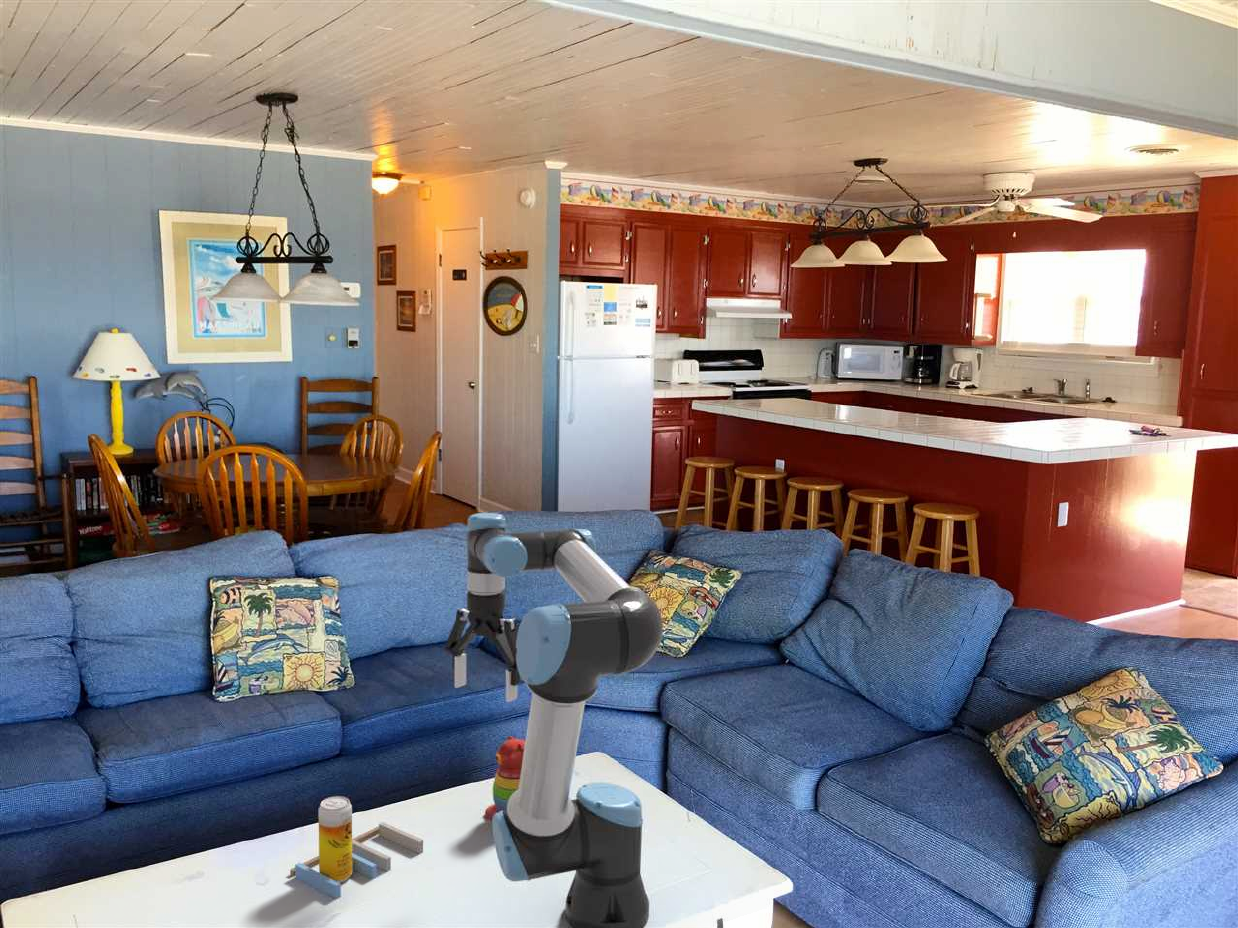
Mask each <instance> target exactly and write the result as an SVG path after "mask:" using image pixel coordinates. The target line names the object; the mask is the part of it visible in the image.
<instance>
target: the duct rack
mask: <svg viewBox="0 0 1238 928" xmlns="http://www.w3.org/2000/svg"><path fill="white" fill-rule="evenodd" d="M377 835H378V836H380V837H382V838H384V839H386V840H388V841H391V842H393V843H395V844H398V845H399V846H402V847H404V848H406V849H408V850H410V851H413V852H414V853H417V854H419V855H420V854H421V853H423V852H424V839H422V838H420V837H417V836H415V835H412V834H411V833H409V832H406V831H405V830H404V831H403V830H401V829H399V828H397V827H394V826H392V825H390V824H388V823H386V822H384V821H382V822H380V823H378V826H376V827H375V828H372V829H370V830H368V831H366V832H365V833H362V834H360V835H357V836H356V837H354V838H352V866H353V871H355V872H357V873H359V874H361V875H362V876H363V875H364V876H365V877H367V878H369V879H371V880H374V879H376V878H377V873H378V871H377V868H379V869H381V870H383V871H385V872H389V871H391V870H392V865H391V864H392V862H391V859H392V858H391V856H389V855H387V854H384V853H383V852H381V851H378V850H376V849H374V848H372V847H369V846H368V845H366V844H363V842H365V841H367V840H369V839H371V838H373V837H375V836H377ZM317 865H319V855H318V856H315V857H314V858H311V859H310V860H306V861H305V862H304V863H301V862H298V863H296V864H295V865H294V867H292V868H291V869H290V875H291V876H292V877H295V878H296V879H298V880H300V881H301V882H304V883H306V884H307V885H308V886H309V885H310V886H311V887H313V888H315V889H317V890H319V891H321V892H322V893H324V894H326V895H329V896H330V897H332V898H334V899H335V900H337V899H339V898H341V896H342V893H341V891H342V888H341V886H342V883H338V882H336V881H334V880H332V879H330V878H328V877H326V876H325V875H323V874H321V873H319V871H317V870H315V869H313V868H314V867H315V866H317Z"/></svg>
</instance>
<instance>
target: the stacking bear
mask: <svg viewBox="0 0 1238 928" xmlns="http://www.w3.org/2000/svg"><path fill="white" fill-rule="evenodd" d="M524 748H525V741H524V740H523V739H519V738H515V737H514V736H511V735H510V736H508V737H507V740H506V741H504V742H503V743H501V745H500V746H499V748H498V750H497V751H496V753H495V760H496V763H497V764H498V765H499V766H498V767H497V769H496V772H495V775H494V781H493V784H492V785H493V786H492V798H493V802H494V803H493V804H492V805H489V806H488V807H486V809H485V811H484V815H485V818H487V819H490V820H491V821H492V819H493V816H494V814H495V813H498V812H500V811H503V812H504V811H506V810H507V803H508V800H509V798H510V796H511V795H512V794H513V793H514V792H515V791H516V790H518V789H519V782H520V775H521V768H522V761H523V755H524Z"/></svg>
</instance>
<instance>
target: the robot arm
mask: <svg viewBox="0 0 1238 928" xmlns="http://www.w3.org/2000/svg"><path fill="white" fill-rule="evenodd" d="M506 530H507V527H506V518H505V516H504V515H503V514H501V513H495V512H480V513H479V512H478V513H474V514H471V515H470V516H469V517H468V519H467V528H466V535H467V537H466V540H467V542H466V545H467V546H466V547H467V548H466V551H467V552H466V555H467V557H466V559H467V561H466V562H467V565H466V566H467V568H466V569H467V572H466V589H467V590H468V591H467V593H466V607H464V608H460V609H458V610H457V611H456V613H455V620H454V623H453V626H452V628H451V630H450V633H449V635H448V637H447V640H446V642H445V645H444V648H443V649H444V650H445V651H446V652H449V653H450V654H451V656H452V670H453V671H454V688H455V689H459V688H461V687H464V686H466V685H467V653H466V651H465V650H466V649H467V647H468V646H469V645H470V644H471V642H472V641H473V640H474V638H475V637H476V636H478V637H484V638H487V639H490V640H491V641H492V643H494V644H495V645H496V648H497V649H498V651H499V653H500V654H501V656H502V658H503V660H504V661H505V663H506V665H507V666H508V668H507V669H505V702H506V703H510V702H513V701H515V700H517V699H518V685H520V683H521V680H522V681H523V682H524V683H525V684H526V687H527V688H528V690H529V692H530V693H532V694H531V700H530V701H531V702H530V709H529V713H528V714H529V715H528V722H527V728H526V729H527V730H526V734H525V741H524V742H525V748H524V755H523V761H522V768H521V775H520V782H519V789H518V790H516V791H515V792H514V793H513V794H512V795H511V796H510V798H509V800H508V803H507V810H506V811H504V812H503V811H500V812H498V813H495V814H494V816H493V819H492V820H491V821H492V823H491V824H492V837H493V842H494V848H495V852H496V857H497V859H498V863H499V866H500V869H501V871H502V872H501V873H503V876H504V877H505V878H506V879H507V880H508V881H510V882H524V881H527V882H528V881H531V880H535V879H539V878H540V879H541V878H545V877H551V876H554V875H559V874H564V873H569V872H573V871H575V872H574V876H573V879H572V882H571V884H570V887H569V890H568V892H567V896H566V899H565V908H564V909H565V910H564V913H565V918H566V921H567V922H568V923H569V925H570V926H571V927H573V928H643V927H644V926H645V925H646V924H647V922H648V920H649V917H650V902H649V901H650V900H649V897H648V895H647V893H646V888H645V886H644V882H643V878H642V875H641V864H642V863H641V862H642V860H641V859H642V839H643V838H642V837H643V834H642V833H643V832H642V831H643V824H644V820H643V811H642V809H643V807H642V806H643V805H642V802H641V800H640V797H639V796H638V795H637V794H636V793H635V792H633V791H632V790H630V789H628V788H626V787H624V786H621V785H618V784H615V783H610V782H589V783H586V784H583V785H582V786H580V787H579V788H578V790H577V792H576V799H575V798H574V799H571V798H570V790H571V787H572V786H571V785H572V780H573V774H574V770H575V769H574V768H575V762H576V756H577V751H578V745H579V739H580V734H581V729H582V723H583V716H584V710H585V705H586V702H587V701H588V700H590V699H592V698H593V697H594V695H595V694H596V692H597V690H598V689H599V688H598V686H599V681H600V677H605V676H611V675H619V674H626V673H627V674H628V673H631V672H633V671H636V670H637V669H639V668H640V667H642V666H644V665H645V664H647V662H648V661H650V659H652V657H654V655H655V654H656V653H657V652H656V651H657V650H658V648H659V646H660V643H661V641H662V638H663V633H664V626H663V625H664V623H663V618H662V617H663V616H662V614H661V611H660V608H659V607H658V605H657V604H656V602H655V601H654V600H653V599H652V598H651V597H650V596H649V595H648V594H647V593H646V592H645V591H644V590H642V589H640V588H638V587H634V586H630V585H629V583H627V582H626V581H625V580H624V579H623V578H622V577H621V576H620V575H619V574H618V573H617V572H616V571H614V569H613V568H611V567H610V566H609V565H608V564H607V563H606V562H605V561H604V560H603V559H602V558H601V557H600V556H599V555H598V554H597V546H596V541H595V538H594V535H593V534H592V532H591V531H590V530H589V529H585V528H584V529H582V528H567V529H553V530H539V531H538V530H537V531H519V532H507V531H506ZM548 570H549V571H550V570H555V571H556V572H557V573H558V574H559V575H560V576H561V577H562V578H563V579H564V580H565V582H566V583H568V585H569V587H571V588H572V589H573V590H574V591H575V592H576V594H577V595H578V596H579V597H580V598H581V599H582V601H583V602H580V603H568V604H562V603H552V604H548V605H545V606H538V607H535V608H532V609H530V610H529V611H527V612H526V614H525V615H524V616H523V618H522V620H521V622H520V624H519V626H518V625H517V619H516V617H512V618H504V610H505V608H506V593H505V591H504V590H505V588H506V583H505V582H506V580H505V579H507V578H513V577H515V576H517V575H519V574H521V573H523V572H533V571H536V572H537V571H548ZM468 622H469V623H470V625H469V626H468V627H467V628H466V626H467V623H468ZM517 626H518V627H517ZM517 628H518V629H517ZM464 630H465V631H464ZM463 632H464V633H463Z"/></svg>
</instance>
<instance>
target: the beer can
mask: <svg viewBox="0 0 1238 928" xmlns="http://www.w3.org/2000/svg"><path fill="white" fill-rule="evenodd" d="M352 839H353V805H352V804H351V801H350V799H349V798H348V797H345V796H329V797H328V798H325V799H324V800H322V801H321V803H320V805H319V808H318V856H319V864H318V866H319V867H318V868H319V871H318V872H319V873H321V874H323V875H325V876H326V877H328V878H330V879H332V880H334V881H336V882H338V883H340V884H343V883H345V882H347V881H348V880H349V879H350V877H351V876H352V874H353V871H354V870H353V866H352Z"/></svg>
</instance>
